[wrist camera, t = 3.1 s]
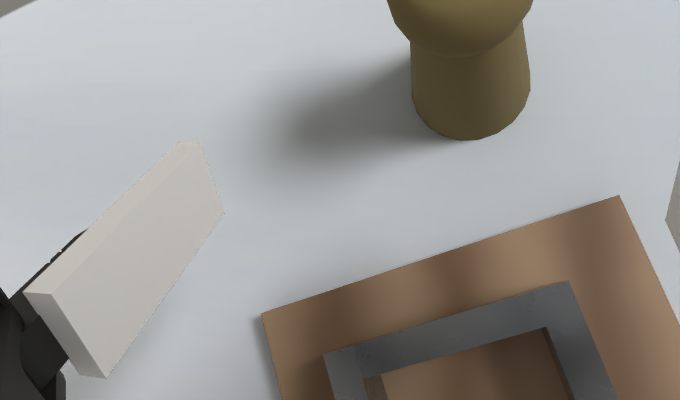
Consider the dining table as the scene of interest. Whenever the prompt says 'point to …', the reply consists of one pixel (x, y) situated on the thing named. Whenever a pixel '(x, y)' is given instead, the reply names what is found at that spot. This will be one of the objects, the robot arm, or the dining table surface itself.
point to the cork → (466, 63)
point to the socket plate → (493, 322)
